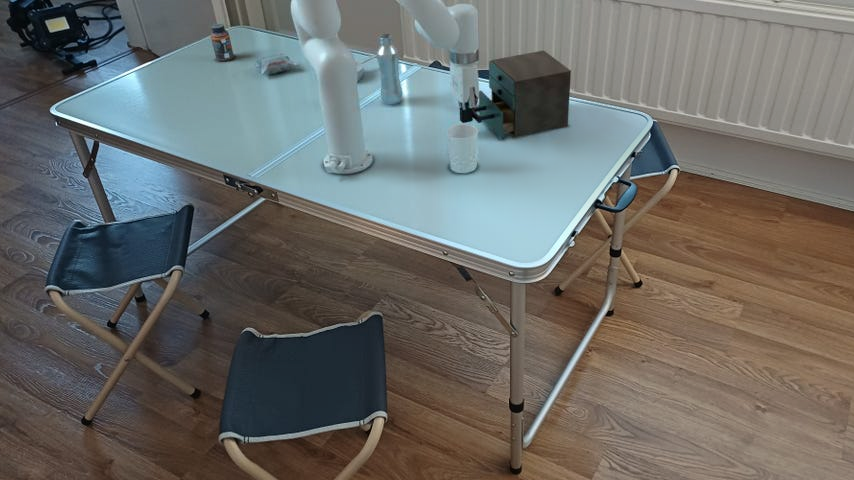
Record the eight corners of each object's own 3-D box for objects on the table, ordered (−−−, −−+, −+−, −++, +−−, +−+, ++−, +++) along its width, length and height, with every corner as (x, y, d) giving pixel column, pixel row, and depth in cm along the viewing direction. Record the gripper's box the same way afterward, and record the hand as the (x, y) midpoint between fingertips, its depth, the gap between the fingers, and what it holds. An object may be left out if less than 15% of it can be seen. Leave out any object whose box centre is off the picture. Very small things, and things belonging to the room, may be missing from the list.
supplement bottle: (233, 61, 247) (225, 28, 240) (215, 62, 246) (207, 29, 239) (235, 54, 251) (227, 21, 244) (217, 56, 251) (209, 23, 244)
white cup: (461, 156, 189) (460, 121, 183) (485, 165, 185) (484, 129, 179) (441, 168, 184) (439, 132, 178) (465, 178, 180) (464, 141, 174)
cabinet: (509, 138, 196) (510, 82, 186) (486, 115, 207) (485, 61, 198) (567, 126, 200) (571, 70, 191) (541, 103, 212) (543, 50, 202)
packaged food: (298, 71, 237) (295, 57, 234) (262, 80, 233) (259, 65, 230) (289, 63, 243) (286, 49, 240) (255, 71, 239) (251, 56, 236)
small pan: (324, 78, 232) (322, 67, 230) (367, 62, 242) (365, 50, 240) (345, 87, 226) (343, 76, 224) (388, 70, 236) (387, 58, 234)
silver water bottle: (404, 97, 219) (399, 31, 207) (401, 107, 214) (395, 40, 201) (383, 97, 219) (376, 31, 207) (379, 106, 214) (372, 40, 202)
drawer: (482, 143, 194) (482, 116, 189) (462, 119, 205) (461, 94, 200) (552, 127, 199) (553, 101, 194) (528, 106, 210) (528, 81, 206)
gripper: (440, 48, 190) (443, 112, 201) (461, 68, 179) (463, 135, 190) (467, 43, 192) (469, 107, 203) (489, 63, 181) (490, 129, 192)
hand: (466, 121), depth 197 cm, fingers closed
